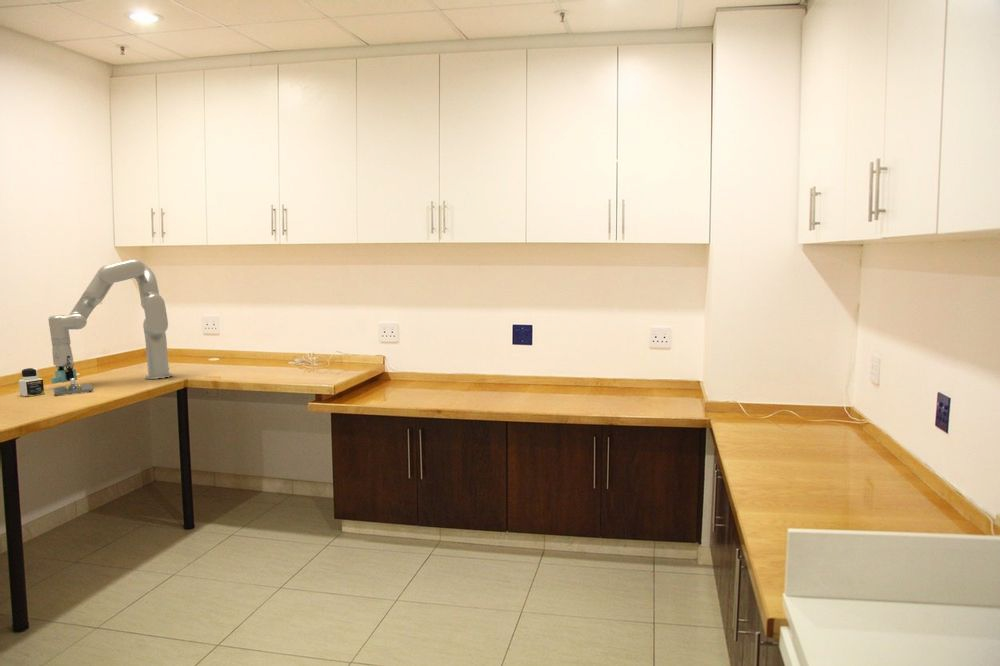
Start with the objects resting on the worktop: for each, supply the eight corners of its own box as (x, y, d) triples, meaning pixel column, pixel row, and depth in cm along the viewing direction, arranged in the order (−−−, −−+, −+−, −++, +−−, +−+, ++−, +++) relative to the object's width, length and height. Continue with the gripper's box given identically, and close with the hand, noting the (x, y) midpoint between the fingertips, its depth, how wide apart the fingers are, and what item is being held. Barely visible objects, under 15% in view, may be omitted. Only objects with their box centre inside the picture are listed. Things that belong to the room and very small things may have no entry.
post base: (54, 391, 335) (53, 378, 335) (92, 387, 343) (90, 374, 342) (54, 396, 322) (53, 382, 322) (93, 391, 330) (92, 378, 329)
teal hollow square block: (70, 379, 347) (69, 368, 347) (77, 379, 344) (75, 369, 343) (49, 383, 340) (47, 372, 339) (56, 383, 336) (54, 373, 335)
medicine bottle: (27, 397, 322) (24, 370, 321) (19, 395, 326) (16, 369, 325) (44, 394, 328) (42, 367, 327) (36, 392, 332) (33, 366, 331)
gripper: (43, 342, 342) (49, 379, 344) (61, 343, 332) (67, 382, 335) (60, 339, 348) (65, 376, 351) (78, 341, 338) (84, 378, 341)
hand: (66, 378), depth 343 cm, fingers closed on teal hollow square block, 6 cm apart
